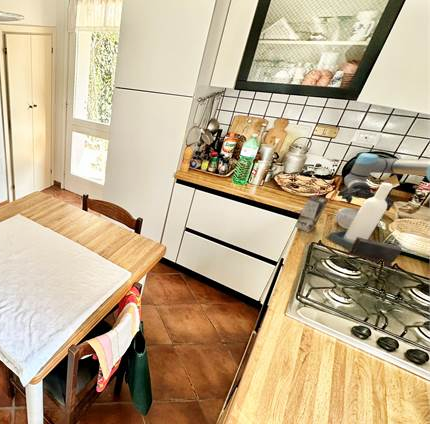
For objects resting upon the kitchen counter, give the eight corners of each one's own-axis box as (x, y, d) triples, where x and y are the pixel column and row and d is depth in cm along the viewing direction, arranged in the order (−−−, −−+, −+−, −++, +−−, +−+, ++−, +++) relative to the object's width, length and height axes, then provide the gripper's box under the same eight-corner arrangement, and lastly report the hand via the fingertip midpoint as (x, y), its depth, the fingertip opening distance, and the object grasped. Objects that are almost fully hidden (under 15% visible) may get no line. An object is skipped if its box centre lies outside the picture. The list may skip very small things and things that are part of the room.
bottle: (362, 248, 140) (399, 189, 125) (340, 241, 145) (373, 183, 131) (366, 242, 144) (401, 184, 130) (344, 235, 150) (376, 178, 135)
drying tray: (379, 249, 141) (382, 244, 140) (358, 254, 138) (361, 249, 136) (346, 234, 153) (349, 229, 151) (327, 238, 149) (330, 233, 148)
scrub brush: (388, 264, 132) (400, 247, 127) (391, 268, 129) (403, 251, 125) (347, 253, 138) (357, 236, 134) (348, 257, 136) (358, 240, 131)
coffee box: (308, 232, 153) (323, 204, 146) (294, 227, 158) (307, 199, 150) (315, 227, 158) (329, 199, 150) (301, 221, 163) (314, 194, 155)
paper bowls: (325, 223, 161) (332, 210, 158) (341, 218, 167) (348, 205, 163) (360, 238, 149) (369, 224, 146) (376, 231, 155) (384, 218, 151)
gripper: (387, 201, 153) (401, 218, 137) (325, 189, 165) (331, 204, 149) (395, 187, 150) (410, 204, 134) (331, 176, 161) (338, 191, 145)
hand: (369, 204), depth 141 cm, fingers open, 13 cm apart
